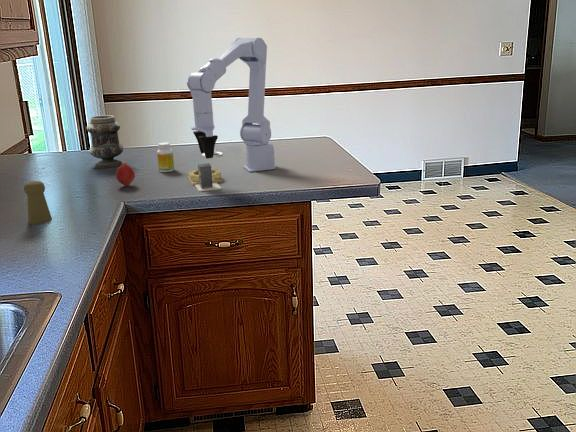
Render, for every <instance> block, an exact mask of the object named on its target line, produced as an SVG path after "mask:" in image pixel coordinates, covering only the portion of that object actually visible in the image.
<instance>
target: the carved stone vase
mask: <svg viewBox="0 0 576 432" xmlns="http://www.w3.org/2000/svg"><path fill="white" fill-rule="evenodd" d="M89 119H90V121H89V123H88V124H87V126H86V130H87V132H88V133H89V134H90V138H91V146H90V147H89V150H88V151H89V154H90V155H91V156H92V157H94V158H96V159H101V160H99V161H98V162H96V163H95V164H94V167H96V168H99V169H102V168H103V169H104V168H107V169H109V168H114V167H118V166H121V165H122V164H123V162H122V161H121V160H119V159H116V157H118V156H120V155H121V154H123V152H124V146H123V145H122V143H120V141H119V134H118V131H120V129H121V125H120V123H119V122H118V121H117V120H116V119H115V116H114V115H112V114H111V115H109V114H107V115H105V114H102V115H94V116H91V117H90V118H89ZM114 158H115V159H114Z"/></svg>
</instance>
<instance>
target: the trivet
mask: <svg viewBox="0 0 576 432" xmlns="http://www.w3.org/2000/svg"><path fill="white" fill-rule="evenodd" d="M212 184H213V187H212V188H204V189H202V188H201V187H200V185H194V186H195V188H196V190H197V191H198V192H199V193H200V192H202V193H203V192H209V191H216V190H217V191H218V190H222V187H221V186H220V185H219V183H217V182H216V183H212Z"/></svg>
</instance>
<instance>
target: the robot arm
mask: <svg viewBox="0 0 576 432" xmlns="http://www.w3.org/2000/svg"><path fill="white" fill-rule="evenodd" d="M230 44H231V45H230V47H228V48H227V50H225V52H224V53H222V55H221V56H220V57H219V58H217V57H215V58H214V57H213V58H212V57H211V58H209V59H208V62H207V63H205V65H204V66H201V67H200V68H199V70H198V71H194V72H192V73H191V74H190V75H188V78H187V82H186V85H187V89H188V90H189V92H190V96H191V97H192V105H193V117H194V118H193V119H194V126H192V127H190V128H191V130H192V131H193V135H194V136H195V139H196V141H197V143H198V148H199V150H200V151H199V152H200V154H201V155H202V154H203V153H205V156H204V157H205V159H207V160H208V159H213V158H214V156H215V155H214V147H215V144H216V143H217V140H218V137H219V136H218V135H214V130H215V125H214V113H213V100H212V91H213V90H214V88H215V86H216V83H217V81H218V80H220V79H221V78H222V77H223V76H224V75H225V74H226V72H227V67H229V66H230V65H232V64H233V63H234V62H236V60H238V59H239V60H240V61H242V62H243V63H245V64H246V65H247V66H248V68H249V76H248V77H249V81H248V82H249V83H248V85H249V86H248V104H247V105H248V107H247V108H248V109H247V115H246V116H245V117H244V118H242V121H241V127H240V131H239V136H240V138H241V140H242V141H243V143H244V144H245V153H246V155H245V156H246V165H243V168H245V170H246V171H248V172H250V173H251V172H252V173H253V172H260V171H267V170H268V171H270V170H276V165H275V164H276V161H275V147H274V145H273V143H272V141H271V142H270V140H271V139H272V129H271V121H270V120H269V119H268V118H266V116H265V114H264V113H265V90H266V73H267V72H266V70H267V53H268V52H267V51H268V45H267V44H266V42H265V40H264V39H263V38H262V37H253V38H252V37H250V38H249V37H245V38H244V37H237V38H235V39H234V40H233V41H232V42H231V43H230Z"/></svg>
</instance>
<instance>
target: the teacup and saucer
mask: <svg viewBox="0 0 576 432" xmlns="http://www.w3.org/2000/svg"><path fill="white" fill-rule="evenodd" d="M216 153H217V154H216ZM221 155H223V152H221V151H217V145H216V143H215V147H214V155H213V156H214V157H218V156H221ZM201 156H203V157H205V153H202V154H201Z"/></svg>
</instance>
